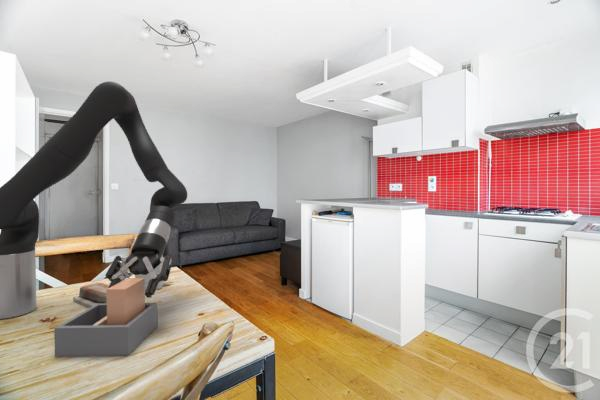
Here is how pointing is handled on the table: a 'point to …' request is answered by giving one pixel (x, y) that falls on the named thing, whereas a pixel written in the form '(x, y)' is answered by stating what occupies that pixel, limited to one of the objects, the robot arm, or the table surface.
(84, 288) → the packaged product
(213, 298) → the table surface
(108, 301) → the salmon rectangular block
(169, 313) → the table surface
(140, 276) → the skincare box
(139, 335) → the grey open tray
